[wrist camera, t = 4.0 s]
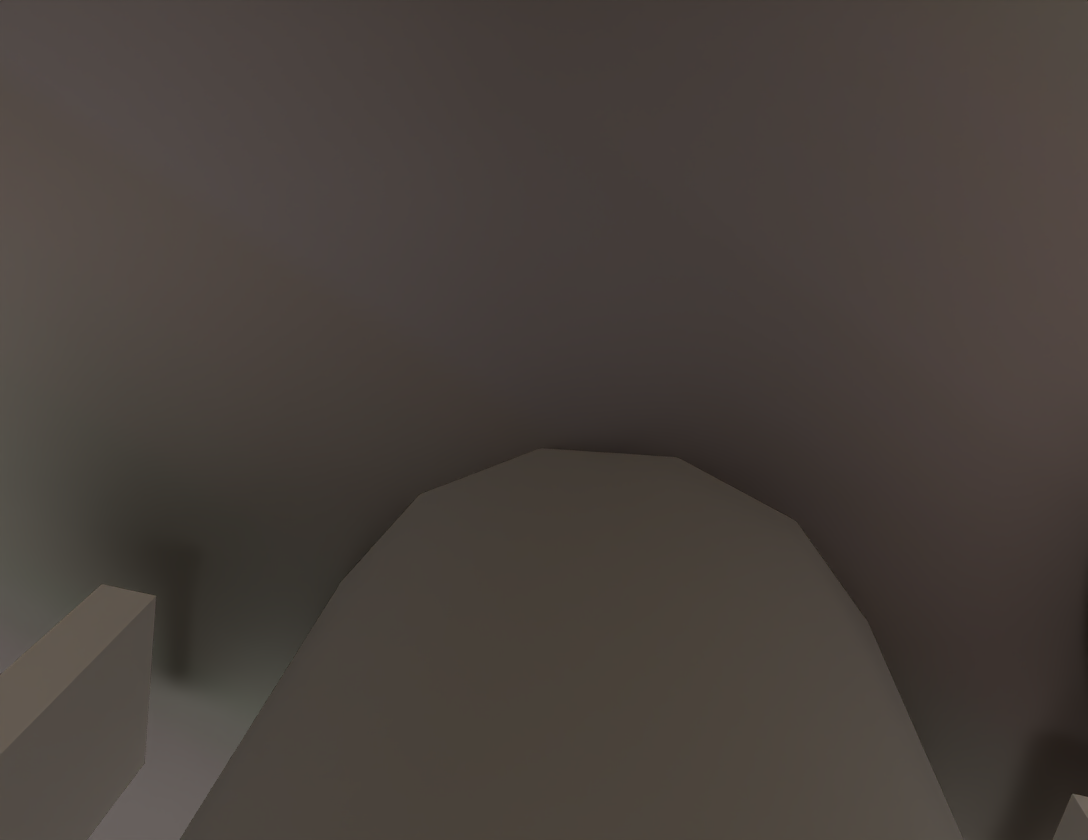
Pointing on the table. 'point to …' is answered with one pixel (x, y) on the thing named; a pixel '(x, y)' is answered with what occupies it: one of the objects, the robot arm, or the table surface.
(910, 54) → the table surface
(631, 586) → the cup
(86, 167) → the table surface
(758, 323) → the table surface
